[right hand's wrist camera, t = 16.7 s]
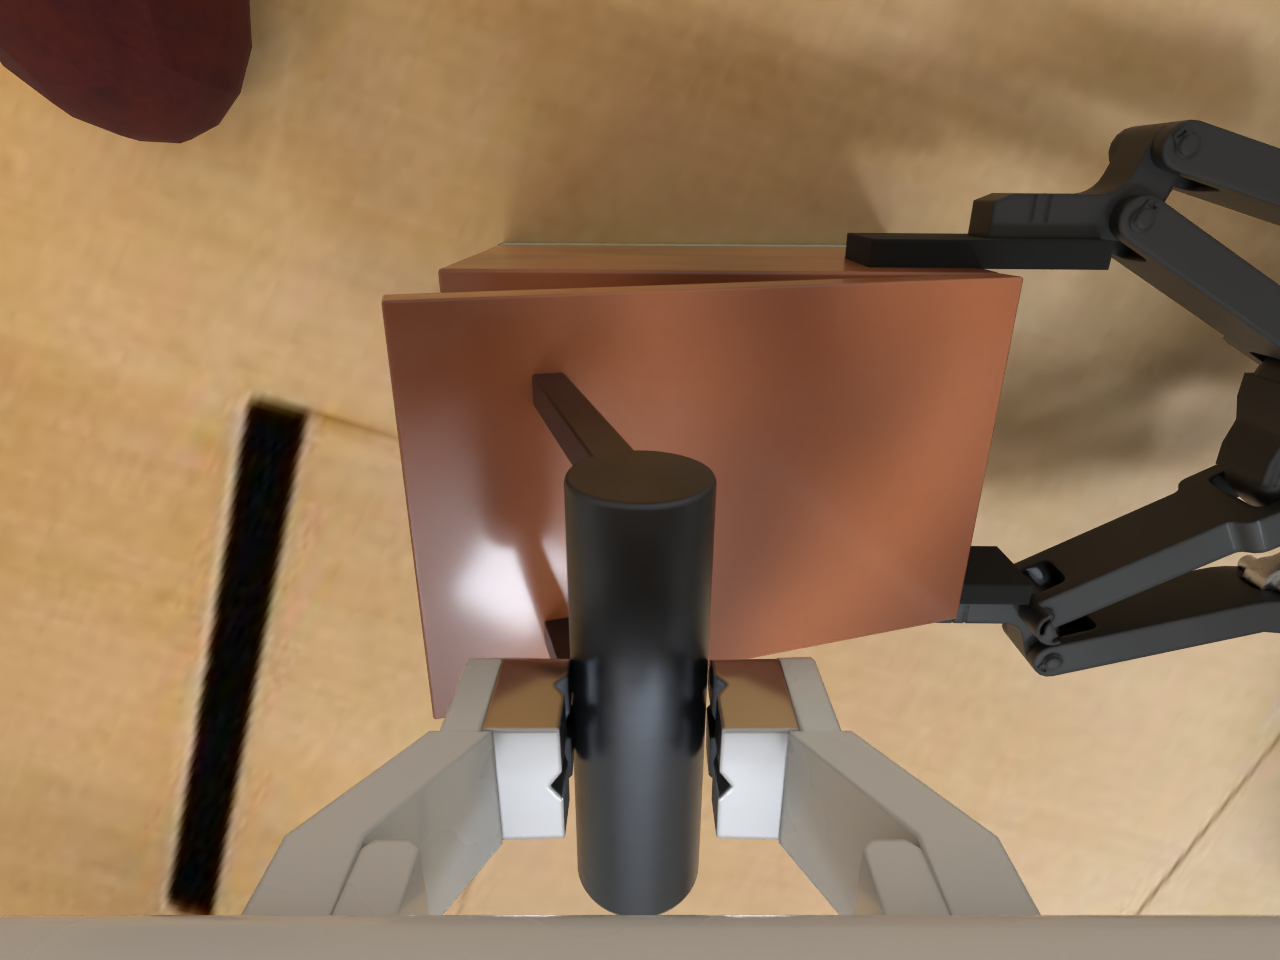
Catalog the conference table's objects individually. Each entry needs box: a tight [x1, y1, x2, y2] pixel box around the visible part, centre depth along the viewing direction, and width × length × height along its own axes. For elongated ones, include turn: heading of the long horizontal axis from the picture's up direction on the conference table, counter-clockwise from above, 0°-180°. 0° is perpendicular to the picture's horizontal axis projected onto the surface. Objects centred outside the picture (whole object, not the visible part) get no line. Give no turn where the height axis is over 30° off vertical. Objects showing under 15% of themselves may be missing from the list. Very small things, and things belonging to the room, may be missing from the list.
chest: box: [438, 243, 997, 293], centre depth 25 cm, size 15×10×9 cm
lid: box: [382, 273, 1023, 915], centre depth 15 cm, size 15×10×8 cm, turn 88°
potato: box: [0, 0, 252, 143], centre depth 22 cm, size 7×8×7 cm
